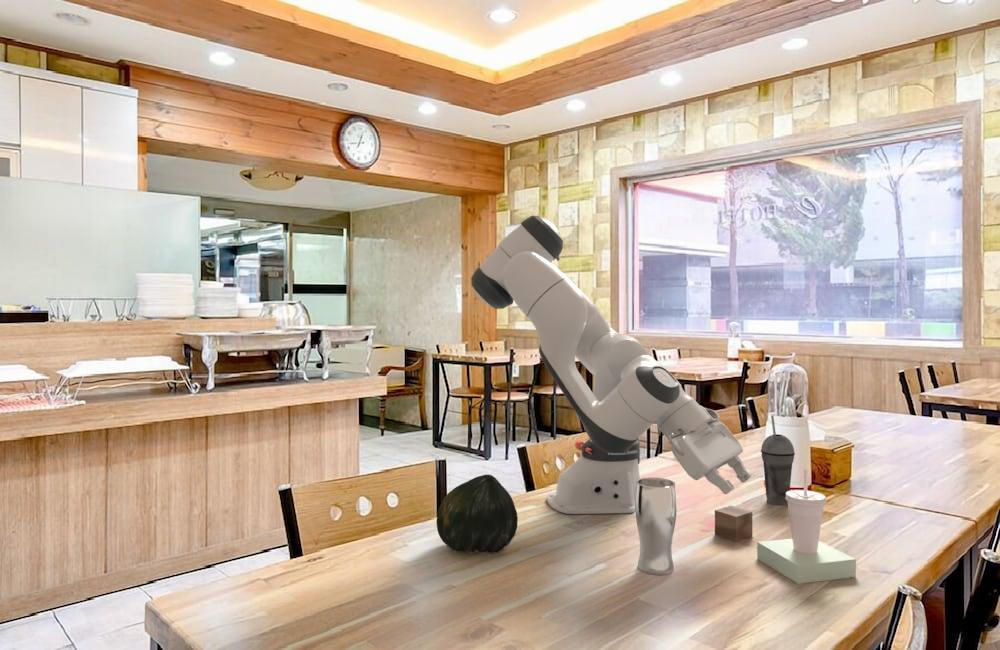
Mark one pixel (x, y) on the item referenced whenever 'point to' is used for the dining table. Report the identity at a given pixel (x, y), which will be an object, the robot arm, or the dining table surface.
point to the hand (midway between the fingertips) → (739, 485)
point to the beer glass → (655, 524)
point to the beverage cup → (777, 466)
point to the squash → (477, 516)
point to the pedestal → (806, 561)
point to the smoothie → (805, 518)
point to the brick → (733, 523)
